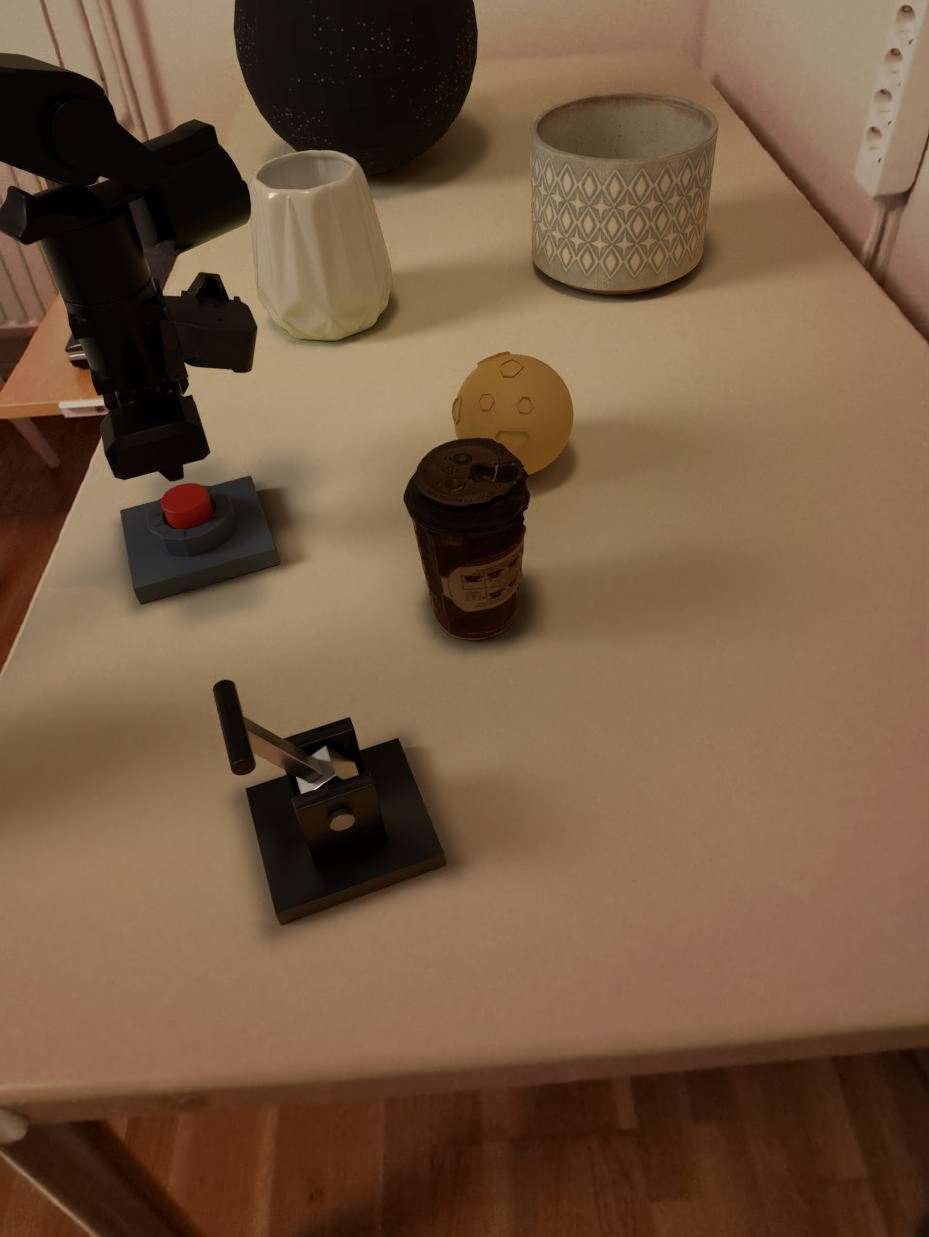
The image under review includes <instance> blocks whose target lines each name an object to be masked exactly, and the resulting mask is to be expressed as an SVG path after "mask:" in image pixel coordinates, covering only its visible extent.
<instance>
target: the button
mask: <svg viewBox="0 0 929 1237" xmlns="http://www.w3.org/2000/svg"><path fill="white" fill-rule="evenodd" d="M202 485H203V484H200V483H197V482H185V483H180V484H177V485H175V486H172V487H171V488H170V489H168V490H166V491H165V493H164V494H163V495H162V497H161V498H162V499H161V505H162V508H163V511H164V513H165V516H166V518H167V521H168V523H169V524H170V525H171V526H172V527H174V528H177V529H190V528H193V527H197V526H200V525H202V524H203V523H205V522H206V521H208V520H209V519H210V517H211V516H212V513H213V507H212V504H211V501H210V498H209V495H208V492H207V490H206V488H204V487H203V486H202Z"/></svg>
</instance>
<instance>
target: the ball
mask: <svg viewBox="0 0 929 1237" xmlns="http://www.w3.org/2000/svg"><path fill="white" fill-rule="evenodd" d="M475 7H476V6H475V2H474V0H234V11H233V12H234V13H233V35H234V44H235V51H236V58H237V61H238V63H239V67H240V70H241V71H240V72H241V74H242V77H243V81H244V83H245V86H246V88H247V90H248V93H249V94H250V96H251V98H252V100H253V102H254V105H255V106H256V108H257V110H258V113H259V114H260V115H261V116H262V117H263V119H264V120H265V122H266V123H267V124H268V125H269V127H270V128H271V129H272V130H273V132H274V133H275V134H276V135H277V136H278V137H279V138H281V139H282V140H283V141H284V142H285V143H286V144H288V145H289V146H290V147H291V148H292V149H293V150H295V152H302V151H309V150H318V151H322V150H330V151H337V152H340V153H344V154H347V155H348V156H349V157H352V158H354V159H355V160H356V161H357V162H358V163H359V164H360V166H361V167H362V169H363V171H364V174H365V175H366V174H367V175H369V174H380V173H384V172H389V171H393V170H395V169H398V168H401V167H403V166H406V165H408V164H409V163H411V162H413V161H415V160H417V159H418V158H420V157H422V156H423V155H425V154H426V153H427V152H429V151H430V150H431V149H432V148H434V146H435V145H436V144H437V143H438V142H439V141H440V140H441V139H443V137H444V136H445V135H446V134H447V133H448V131H449V130H450V128H451V127H452V126H453V124H454V122H455V121H456V119H457V118H458V116H459V115H460V114H461V112H462V109H463V107H464V105H465V102H466V100H467V98H468V96H469V92H470V90H471V86H472V82H473V78H474V73H475V69H476V64H477V60H478V40H479V39H478V38H479V30H478V22H477V15H476V8H475Z"/></svg>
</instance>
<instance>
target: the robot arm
mask: <svg viewBox="0 0 929 1237" xmlns="http://www.w3.org/2000/svg"><path fill="white" fill-rule="evenodd" d="M0 162H1V163H3V164H6V165H8V166H11V167H13V168H16V169H19V170H21V171H23V172H26V173H29V174H32V175H34V176H37V177H41V178H43V179H44V180H48V181H50V182H53V183H56V185H54V186H51V187H48V188H45V189H43V190H40V191H39V192H35V193H33V194H31V193H30V192H27V191H26V190H24V189H22V188H19V187H17V186H16V185H9V186H8V187H7V191H6V197H5V200H4V202H3V204H2V205H1V206H0V233H2V234H3V235H5V236H8V237H9V238H11V239H13V240H14V241H16V242H19V243H20V244H22V245H24V246H30V245H32V244H35V243H38V242H39V244H40V247H41V249H42V252H43V254H44V256H45V258H46V261H47V263H48V266H49V269H50V271H51V273H52V276H53V279H54V281H55V283H56V286H57V288H58V291H59V293H60V296H61V298H62V302H63V303H64V306H65V308H66V314H67V321H68V326H69V330H70V331H71V334H72V337H73V338H74V341H77V340H78V341H79V343H80V346H81V348H82V351H83V354H84V356H85V358H86V361H87V363H88V365H89V371H90V372H89V373H90V377H91V383H92V385H93V388H94V391H95V393H96V396H98V397H99V396H102V400H103V405H104V406H105V408H106V409H107V410H108V411H107V413H106V415H105V416H104V418H103V420H102V421H101V423H100V425H99V428H100V435H101V440H102V447H103V452H104V456H105V458H106V461H107V464H108V466H109V468H110V470H111V473H112V476H113V478H115V479H119V480H122V481H127V480H131V479H135V478H139V477H141V476H147V475H150V474H154V473H157V472H158V473H159V474H160V475H161V476H163V477H164V479H166V480H167V481H168V482H170V483H173V482H177V481H180V480H183V479H184V478H185V471H184V465H189V464H191V463H196V462H199V461H203V460H205V459H206V458H207V457H208V456H209V455H210V454H211V453H212V452H211V448H210V445H209V442H208V438H207V435H206V431H205V428H204V425H203V423H202V419H201V416H200V412H199V409H198V406H197V403H196V401H195V399H194V397H193V394H188V395H185V393H187V390H188V389H189V387H190V383H189V378H190V377H189V373H188V370H187V367H186V365H188V366H190V367H193V368H194V367H195V368H202V369H217V370H226V371H227V370H228V371H232V372H233V373H235V374H246V373H250V372H251V371H252V370H253V365H254V359H255V351H256V343H257V336H258V329H259V328H258V324H257V322H256V319H255V317H254V315H253V312H252V310H251V307H250V306H249V305H248V304H247V303H245V302H243V301H242V299H241V296H238V295H233V299H230V297H229V294H228V292H227V289H226V287H225V284H224V282H223V279H222V277H221V275H220V274H219V273H213V272H205V271H200V272H198V273H197V275H196V276H195V278H194V279H193V281H192V282H191V284H190V285H189V287H188V288H187V290H183V289H182V290H180V295H166V294H165V295H164V293H163V290H162V287H161V284H160V280H159V277H156V278H154V276H153V273H152V271H151V268H150V265H149V263H148V259H147V256H146V253H145V250H144V247H143V245H145V246H146V247H148V248H157V249H158V251H160V252H162V253H163V254H164V255H166V256H168V257H172V258H175V257H177V256H179V255H181V254H184V253H186V252H188V251H191V250H192V249H195V248H197V247H199V246H201V245H203V244H205V243H208V242H210V241H212V240H214V239H216V238H218V237H221V236H223V235H226V234H228V233H230V232H232V231H234V230H237V229H238V228H241V227H243V226H245V225H247V223H248V222H249V220H251V218H250V215H251V199H250V193H249V186H248V185H249V184H248V183H247V181H246V180H244V179H243V177H242V175H241V173H240V171H239V168H238V167H237V165H236V163H235V161H234V160H233V158H232V156H230V154H229V152H227V150H226V149H225V148H224V147H223V146H222V145H221V144H220V143H219V139H218V135H217V130H216V127H215V126H214V125H212V124H211V123H207V122H204V121H201V120H199V119H195V118H194V119H191V120H187V121H185V122H182V123H181V124H179V125H177V126H176V127H174V128H173V130H170V131H169V132H167V133H164V134H161V135H158V136H155V137H153V138H150V139H147V140H145V141H143V142H141V141H140V140H139V139H138V138H136V136H134V135H133V134H132V133H131V132H130V131H128V130H127V129H126V128H125V127H124V126H123V125H121V124H120V123H119V122H118V118H117V115H116V112H115V109H114V106H113V104H112V103H111V101H110V99H109V98H108V96H107V94H106V92H105V89H104V88H103V87H102V86H101V85H100V84H99V83H98V82H96V80H94V79H91V78H89V77H87V76H85V75H83V74H81V73H79V72H77V71H74V70H70V69H67V68H64V67H61V66H59V65H55V64H52V63H49V62H47V61H45V60H40V59H37V58H35V57H32V56H29V55H25V54H21V53H10V52H9V53H8V52H0ZM99 178H104V179H106V180H103V181H100V182H98V179H99ZM97 182H98V183H97Z"/></svg>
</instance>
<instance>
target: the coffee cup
mask: <svg viewBox="0 0 929 1237" xmlns="http://www.w3.org/2000/svg"><path fill="white" fill-rule="evenodd" d="M527 478H529V475H528V474H527V472H526V470H525V469H524V465H523V464H522V463H521V461H520V460H519V459H518V458H516V457H515V456H514V455H513V454H512V453H511V452H510V451H509V450H508V449H507V448H506V447H505V446H504V445H503V444H501V443H497V442H496V441H495V440H493V439H490V438H465V439H458V438H456V439H454V440H449V441H446V442H443V443H442V444H440V445H437V446H436V447H434V448H432V449H431V450H429V451H428V452H427V454H425V455H424V456H423V457H422V458H421V460H420V461H419V463H418V464H417V466H416V470H415V472H414V473H413V474H412V476H411V477H410V478H409V480H408V482H407V484H406V487H405V489H404V492H403V497H402V501H403V503H404V506H405V508H406V510H407V513H408V515H409V517H410V518H411V521H412V526H413V529H414V535H415V539H416V543H417V551H418V553H419V557H420V562H421V567H422V571H423V573H424V577H425V584H426V587H427V588H428V597H429V601H430V605H431V606H432V611H433V614H434V617H435V620H436V622H437V624H438V625H439V626H440V628H441V629H442V630H443V631H444V632H446V633H447V635H449V636H451V637H453V638H458V639H462V640H467V641H468V640H469V641H478V640H485V639H488V638H491V637H493V636H496V635H499V634H501V633H503V632H504V631H506V629H508V627H510V626H511V625H512V623H513V622H514V620H515V619H516V616H517V613H518V611H519V608H520V602H519V599H518V592H517V591H518V590H519V587H520V585H521V582H522V580H523V557H524V553H525V552H524V548H525V536H526V532H527V526H526V525H525V524H524V523H525V520H526V518H525V514H524V513H525V512H526V511H527V510H528V509H529V504H530V502H531V501H530V500H531V493H530V491H529V488H528V485H527V481H526V480H527Z"/></svg>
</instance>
